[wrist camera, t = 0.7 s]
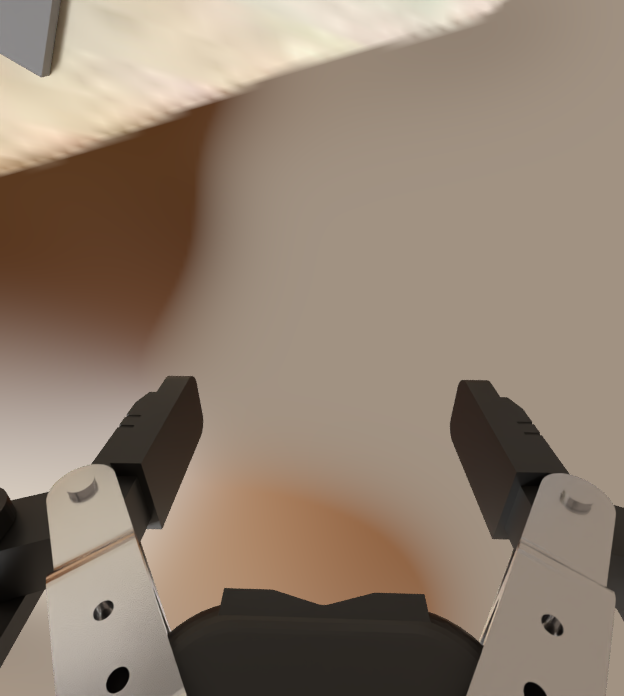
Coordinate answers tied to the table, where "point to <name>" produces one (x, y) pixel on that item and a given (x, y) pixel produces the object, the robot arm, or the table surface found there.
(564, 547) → the robot arm
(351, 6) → the table surface
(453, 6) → the table surface
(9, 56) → the rubber mat
